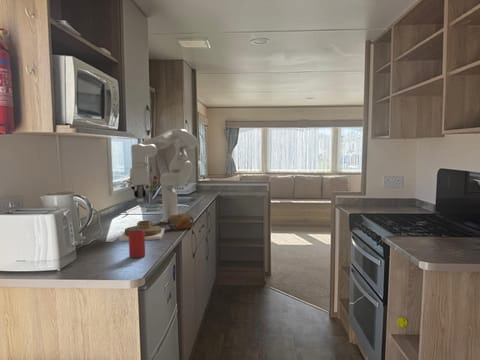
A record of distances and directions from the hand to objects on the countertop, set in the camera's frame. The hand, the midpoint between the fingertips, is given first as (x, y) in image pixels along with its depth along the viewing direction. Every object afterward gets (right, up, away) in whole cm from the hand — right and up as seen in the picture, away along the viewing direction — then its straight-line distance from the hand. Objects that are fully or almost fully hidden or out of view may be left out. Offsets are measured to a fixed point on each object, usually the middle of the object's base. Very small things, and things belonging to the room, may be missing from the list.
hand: (140, 196), depth 207 cm
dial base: (+6, -20, -15) cm, 26 cm away
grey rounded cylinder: (0, -3, 0) cm, 3 cm away
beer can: (+14, -23, -54) cm, 61 cm away
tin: (+23, -19, +2) cm, 30 cm away
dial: (+6, -18, -15) cm, 25 cm away
